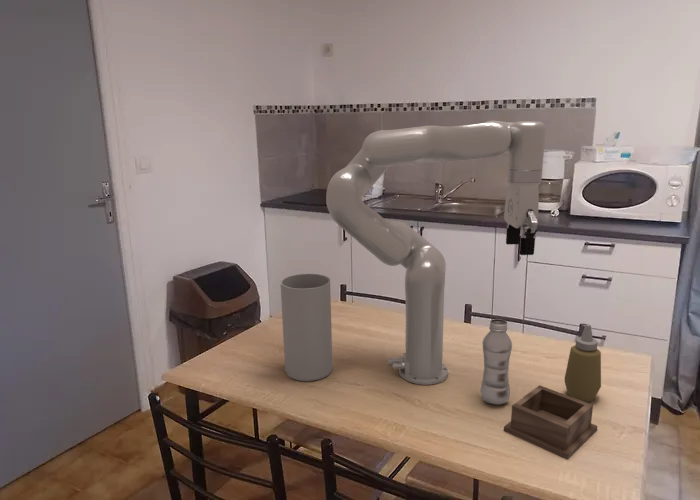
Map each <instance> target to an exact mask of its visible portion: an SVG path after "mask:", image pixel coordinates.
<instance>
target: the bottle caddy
mask: <svg viewBox="0 0 700 500" xmlns="http://www.w3.org/2000/svg"><path fill="white" fill-rule="evenodd" d="M593 409H594V404H592V403H589V402H584V401H581V400H578V399H576V398H573V397H570V396H569V395H568V394H564V393H562V392H559V391H557V390H554V389H550V388H549V387H546V386H543V385H540V384H539V385H538V386H537V387H535V388H534V389H532V390H531V391H530V392H528V393H527V394H525V395H524V396H523V397H522V398H520V399H519V400H517V401H516V402H515V403H513V404H512V405H511V413H510V415H511V416H510V417H511V418H510V421H509V422H508V423H507V424H505V425H504V426H503V431H504V432H505V433H508V434H510V435H512V436H515V437H517V438H519V439H521V440H523V441H526V442H528V443H531V444H533V445H534V446H537V447H539V448H541V449H543V450H546V451H548V452H550V453H552V454H554V455H556V456H560V457H561V458H564V459H567V460H569V458H570V457H571V456H573V455H574V454H575V453H576V451H578V450H579V449H580V448H581V447H582V446H583V444H584V443H586V441H587V440H589V439H590V438H591V437H592V436H593V434H594V433H596V432H597V430H598V425H597V424H594V423H592V418H593Z"/></svg>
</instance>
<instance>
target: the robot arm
mask: <svg viewBox="0 0 700 500" xmlns="http://www.w3.org/2000/svg"><path fill="white" fill-rule="evenodd" d="M545 140H546V125H545V123H543V122H542V121H537V120H536V121H535V120H534V121H533V120H532V121H529V120H528V121H526V120H525V121H520V120H519V121H515V122H509V121H508V122H507V121H501V120H487V121H485V122H482V123H475V124H465V125H453V126H452V125H450V126H440V125H421V126H415V127H414V126H413V127H407V128H405V127H404V128H398V129H395V128H394V129H388V130H386V129H380V130H376V131H373V132H371V133H369V134H368V135H367V136H366V137H365V139H364V141H363V143H362V147H361V149H360V150H359V151H358V153H357V154H356V155H355V156H354V157H353V158H352V159H351V161H349V163H348V164H347V165H346V166H345V167H344V168H342V169H340V170H338V171H337V172H335V173H334V175H333V176H331V179H330V181H329V182H328V185H327V188H326V193H325V194H326V197H325V198H326V199H325V200H326V201H325V202H326V207H327V210H328V213H329V215H330V217H331V218H332V220H333V221H334V222H335V223H336V224H337V225H338V226H339V227H340V228H341V230H344V231H345V232H346V233H347V234H348V235H350V236H351V237H352V238H353V239H354V240H355V241H356V242H358V243H359V244H360V245H361V246H363V247H364V248H365V249H366V250H367V251H369V253H370V254H372V255H373V256H374V257H375V258H377V259H378V261H380V262H382V264H385V265H386V266H391V267H396V266H399V265H401V266H402V267H403V268H404V269H406V271H405V274H404V275H405V277H404V292H405V293H404V295H405V350H404V352H403V353H402V354H403V356H399V357H387V366H392V369H393V370H394V369H398V370H399V371H398V372H399V375H400V377H401V378H402V379H403V380H405V381H407V382H409V383H412V384H415V385H424V386H425V385H426V386H427V385H428V386H429V385H434V384H439V383H441V382H444V381H445V380H446V379H447V378H448V376H449V369H448V367H447V365H445V364H444V363H443V352H444V350H443V349H444V347H443V346H444V313H445V310H444V309H445V308H444V307H445V287H446V270H447V269H446V260H445V257H444V255H443V254H442V252H441V251H440V250H439V249H438V248H437V247H435V245H433V244H432V243H430V242H429V240H427V239H426V238H424V237H423V236H422V235H421V234H419V232H417V231H416V230H415V229H414V228H412V227H411V226H409V225H408V224H406V223H404V222H402V221H398V220H396V221H394V220H393V221H390V222H389V221H387V219H385V218H384V217H382V215H380V214H379V213H378V212H377V211H375V210H374V209H372V208H371V207H369V206H368V205H366V204H365V202H364V201H363V197H364V196H365V195H366V194H367V193H368V192H369V191H370V190H371V188H372V187H373V186H374V185H375V184H376V183H377V181H379V179H380V178H381V177H382V176H383V175H384V174H385V172H386V171H387V170H388V169H389V168H390V167H398V166H399V167H400V166H406V165H407V166H408V165H416V164H417V165H418V164H421V165H422V164H429V163H430V164H431V163H443V162H444V163H445V162H455V161H468V160H470V161H471V160H480V159H487V158H495V157H499V156H502V155H504V153H506V152H508V162H507V163H508V164H507V177H506V183H507V187H506V196H505V204H504V211H503V212H504V213H503V219H504V221H505V222H506V233H505V234H506V237H505V244H506V245H519V252H518V254H519V255H520V256H533V255H534V254H535V246H536V245H535V244H536V238H537V232H538V231H537V230H538V226H539V225H538V224H539V223H538V218H539V203H540V202H539V201H540V199H539V197H540V196H539V195H540V191H539V190H540V189H539V187H540V186H539V185H541V184H542V177H543V166H544V154H545V142H546V141H545ZM521 236H522V237H521Z"/></svg>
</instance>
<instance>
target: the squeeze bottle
mask: <svg viewBox="0 0 700 500" xmlns="http://www.w3.org/2000/svg"><path fill="white" fill-rule="evenodd" d="M598 342H599V341H598V340H597V339H595V338H593V330H592V325H590V324H585V326H584V328H583V331H582V334H581V336H578V337H576V338H575V344H574V345H573V346H571V347H570V351H569V355H568V359H567V365H566V370H565V373H564V374H565V375H564V384H565V387H566V391H567V395H568V396H570V397H573V398H576V399H578V400H581V401H584V402H587V403H589V402H593V401H594V400H595V399H596V397H597V395H598V393H599V392H600V389H601V388H602V357H601V356H602V355H601V354H602V352H601V351H600V349H598Z"/></svg>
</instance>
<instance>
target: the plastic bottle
mask: <svg viewBox="0 0 700 500" xmlns="http://www.w3.org/2000/svg"><path fill="white" fill-rule="evenodd" d="M512 350H513V342H512V340H511V337H510V336H509V334H508V321H506V320H505V319H502V318H494V319H490V321H489V332H487V334H485V336H484V337H483V340H482V351H483V375H482V381H481V385H480V391H479V392H480V396H481V399H482V400H483V401H484V402H485V403H487V404H489V405H494V406H501V405H504V404H506V403H507V402H508V401H509V399H510V395H511V389H510V388H511V387H510V383H509V367H510V359H511V354H512Z"/></svg>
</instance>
